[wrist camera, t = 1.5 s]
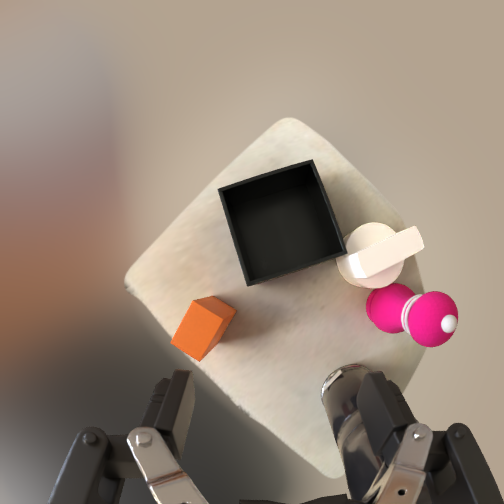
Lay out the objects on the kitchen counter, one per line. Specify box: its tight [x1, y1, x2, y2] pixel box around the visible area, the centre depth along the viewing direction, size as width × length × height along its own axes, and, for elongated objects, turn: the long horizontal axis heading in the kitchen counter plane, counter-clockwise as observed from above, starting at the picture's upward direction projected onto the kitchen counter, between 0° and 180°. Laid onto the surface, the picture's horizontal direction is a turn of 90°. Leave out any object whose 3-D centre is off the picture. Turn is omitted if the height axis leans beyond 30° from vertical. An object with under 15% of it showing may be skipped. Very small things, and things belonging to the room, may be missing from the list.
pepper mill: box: [366, 283, 458, 347], centre depth 30 cm, size 7×7×20 cm
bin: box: [218, 159, 348, 286], centre depth 38 cm, size 13×13×9 cm
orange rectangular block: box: [171, 296, 237, 362], centre depth 37 cm, size 4×6×10 cm
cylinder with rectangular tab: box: [336, 222, 424, 288], centre depth 35 cm, size 9×9×12 cm
